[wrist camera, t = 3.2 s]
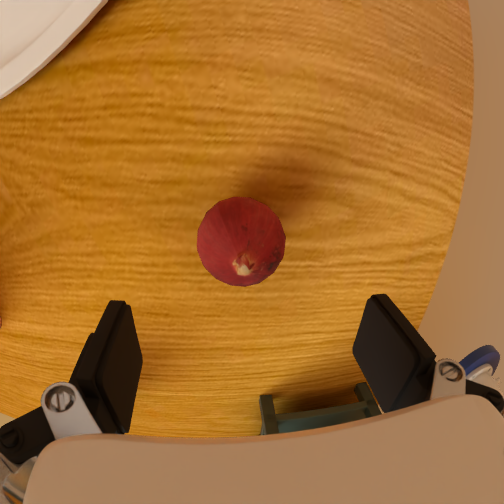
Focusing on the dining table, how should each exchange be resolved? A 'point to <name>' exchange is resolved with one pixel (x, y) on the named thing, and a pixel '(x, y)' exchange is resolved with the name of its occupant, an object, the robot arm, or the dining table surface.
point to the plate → (37, 35)
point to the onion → (241, 241)
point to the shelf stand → (317, 414)
